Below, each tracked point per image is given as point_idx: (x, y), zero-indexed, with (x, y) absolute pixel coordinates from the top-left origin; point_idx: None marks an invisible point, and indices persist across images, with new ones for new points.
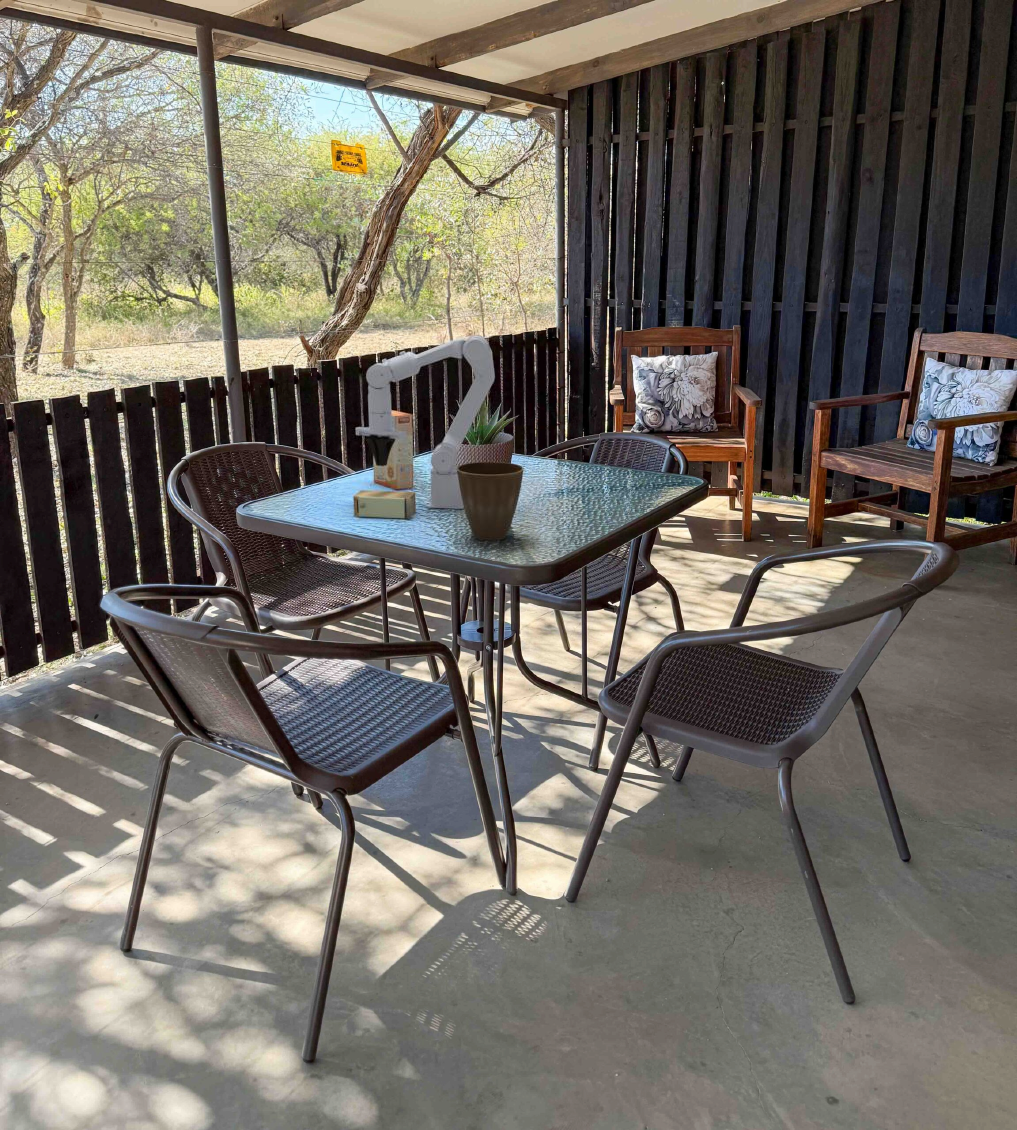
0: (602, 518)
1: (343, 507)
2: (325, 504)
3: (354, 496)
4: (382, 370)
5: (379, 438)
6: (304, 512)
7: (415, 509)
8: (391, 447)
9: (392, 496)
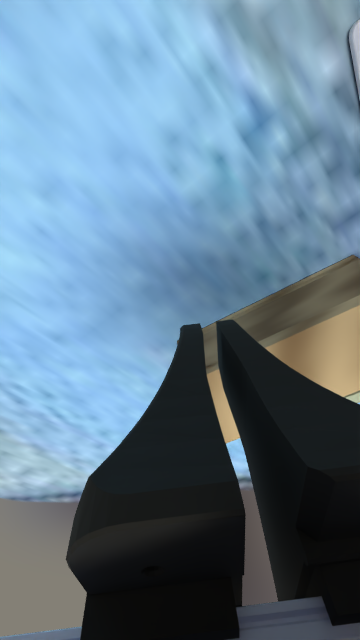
0: None
1: (107, 352)
2: (29, 359)
3: (228, 441)
4: None
5: (241, 578)
6: (81, 436)
7: (358, 259)
8: (331, 394)
9: (345, 383)
